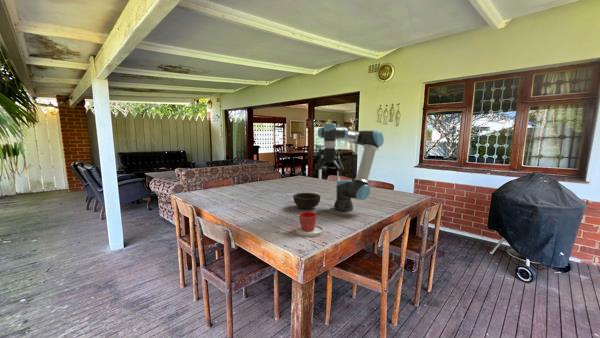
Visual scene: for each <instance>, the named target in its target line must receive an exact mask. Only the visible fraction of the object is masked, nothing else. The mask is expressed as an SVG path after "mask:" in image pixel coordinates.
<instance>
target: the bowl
mask: <svg viewBox="0 0 600 338" xmlns="http://www.w3.org/2000/svg"><path fill="white" fill-rule="evenodd" d="M321 197H322V196H321V194H318V193H314V192H313V193H312V192H300V193H295V194H293V198H292V199H293V202H294V204H295V205H296V206H297V207H298V208H301V209H303V210H311V209H314V208H315V207H317V206H318V205H319V204H320V201H321Z"/></svg>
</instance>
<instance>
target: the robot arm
mask: <svg viewBox="0 0 600 338" xmlns="http://www.w3.org/2000/svg"><path fill="white" fill-rule="evenodd" d="M317 136H318V138H320V139H323V148H324V149H323V154H319V157H318V160H317V162H316V164H315V166H314V169H317V175H318V180H322V178H323V177H322V175H323V173H322V171H323V169H322V167H324V165H325V164H326V163H331V164H333V165H334V167H335V169H337V171H336V174H337V175H336V196H335V197H336V199H335V202H334V205H333V209H334V210H335V211H338V212H351V211H354V205H353V201H352V199H354V200H355V199H356V200H358V201H364V200H366V199H368V198H369V196H370V195H371V186H370V183H369V181H368V180H369V177H370V173H371V170H372V166H373V162H374V158H375V155H376V152H377V151H378V150H379V147H382V146H383V144H384V142H385V141H384V135H383V133H382V132H381V131H380V130H376V129H375V130H374V129H373V130H352V131H349V129H348V128H347V127H345V126H337V124H336V123H325V124H324V126H322V127H319V128H318V129H317ZM336 140H338V141H343V142H349V143H350V144H355V145H359V146H362V147H363V151H362V156H361V159H360V163H359V167H358V170H357V175H356V177H355V178H354V179H353V181H352V179H341V176H342V171H345V167H344V165H343V163H342V160H341V156H340V155H336V143H337V142H336Z"/></svg>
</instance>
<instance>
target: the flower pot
mask: <svg viewBox="0 0 600 338" xmlns="http://www.w3.org/2000/svg"><path fill="white" fill-rule="evenodd" d="M298 217H299V223H300V224H299V225H301V229H302V230H303V231H306V232H311V231H313V230H314V228H315V224H316V223H317V222H316V221H317V213H316V212H313V211H303V212H300V213H299V214H298Z"/></svg>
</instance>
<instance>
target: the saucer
mask: <svg viewBox="0 0 600 338" xmlns="http://www.w3.org/2000/svg"><path fill="white" fill-rule="evenodd" d="M296 233H297V234H298V235H300V236H303V237H312V238H313V237H315V238H316V237H320V236H323V234H325V227H324V226H322V225H320V224H318V223H317V224H316V223H315V228H314V230H313V231H311V232H306V231H303V230H302V229H301V224H299V225H297V226H296Z"/></svg>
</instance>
